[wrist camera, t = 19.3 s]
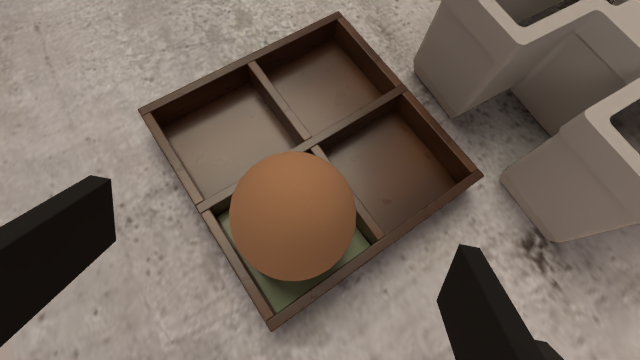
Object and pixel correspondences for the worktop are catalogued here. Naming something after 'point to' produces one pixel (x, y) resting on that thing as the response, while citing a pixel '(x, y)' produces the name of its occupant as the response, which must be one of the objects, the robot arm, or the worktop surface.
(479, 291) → the robot arm
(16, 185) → the worktop surface
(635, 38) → the grey compartment organizer
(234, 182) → the compartment tray
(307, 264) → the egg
